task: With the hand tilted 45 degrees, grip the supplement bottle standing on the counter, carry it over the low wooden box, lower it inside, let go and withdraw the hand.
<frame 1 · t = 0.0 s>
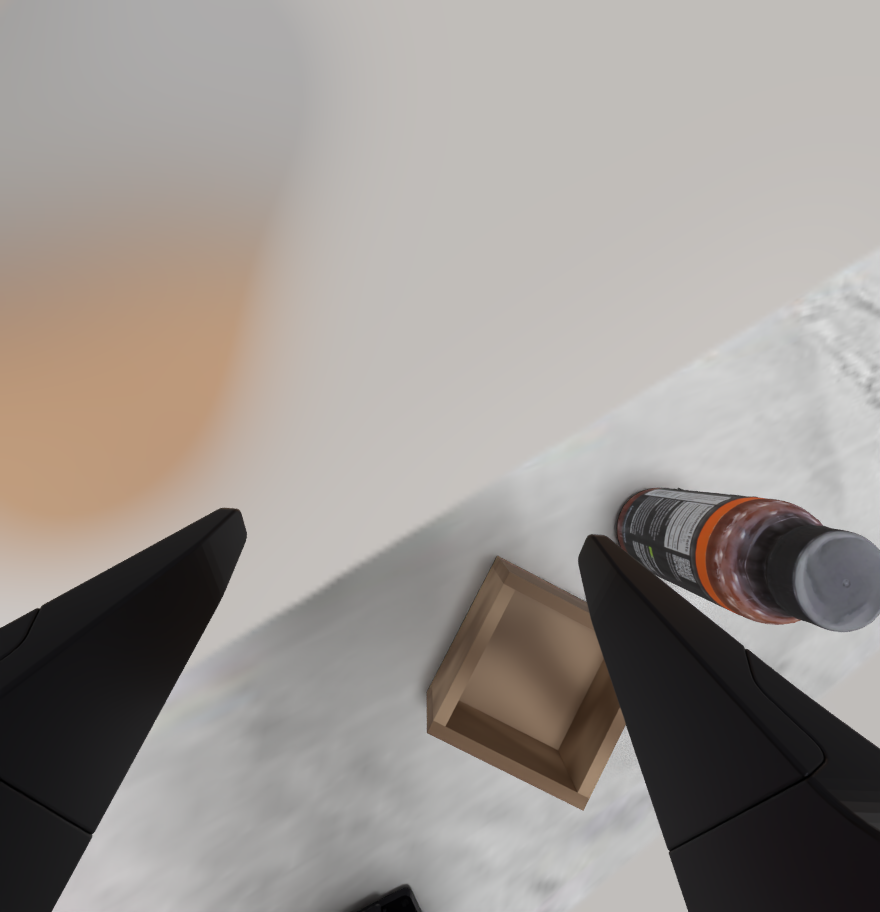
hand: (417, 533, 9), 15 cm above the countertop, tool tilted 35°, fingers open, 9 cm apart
wooden box: (528, 657, 24), on the countertop
supplement bottle: (651, 527, 25), on the countertop
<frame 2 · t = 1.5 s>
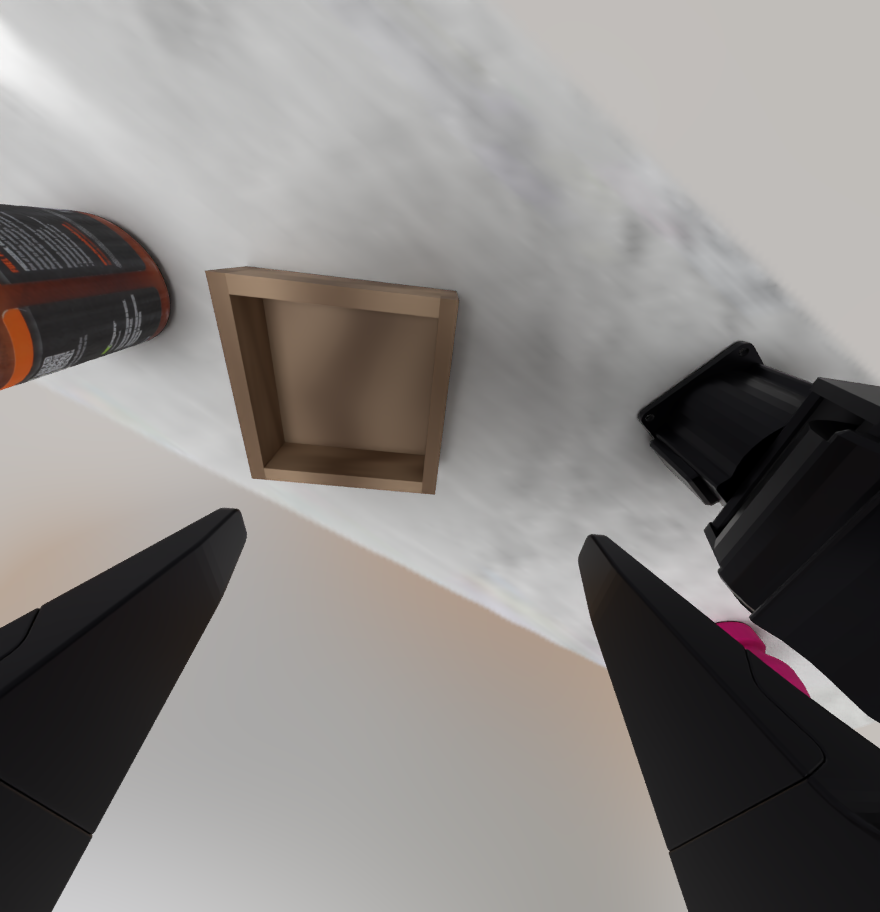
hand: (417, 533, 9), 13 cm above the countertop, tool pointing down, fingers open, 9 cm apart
wooden box: (355, 379, 20), on the countertop
pepper mill: (715, 637, 34), on the countertop
supplement bottle: (117, 281, 18), on the countertop
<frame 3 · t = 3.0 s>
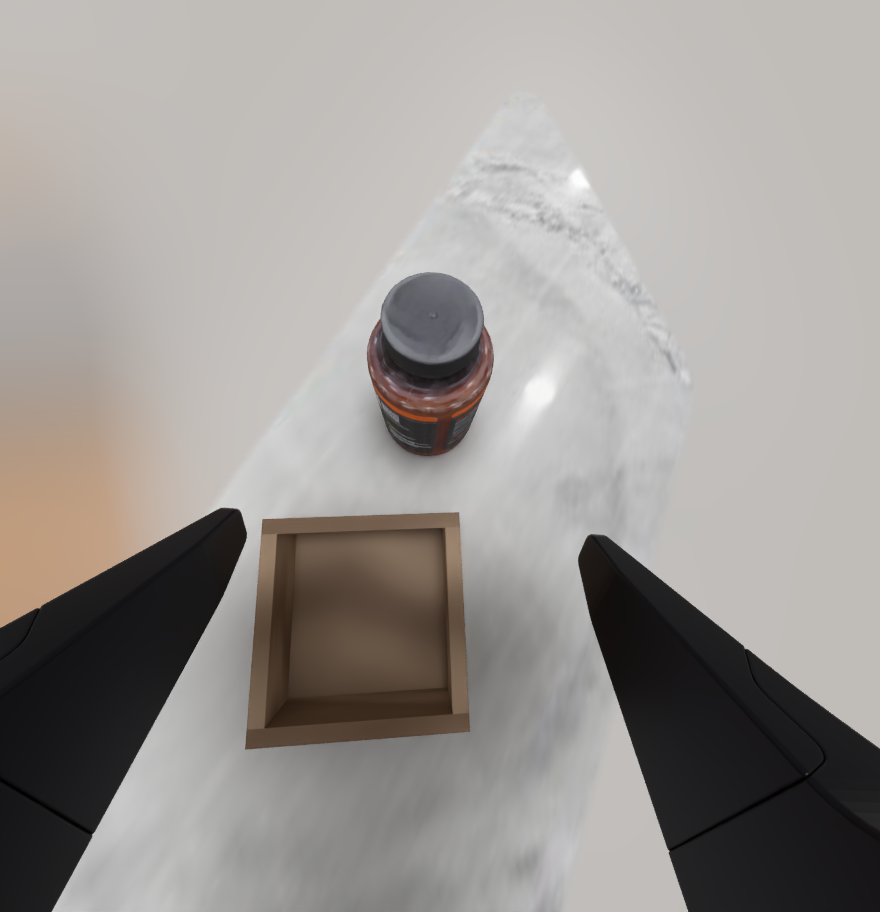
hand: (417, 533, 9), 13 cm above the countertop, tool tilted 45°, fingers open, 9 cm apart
wooden box: (370, 606, 21), on the countertop
supplement bottle: (427, 417, 24), on the countertop
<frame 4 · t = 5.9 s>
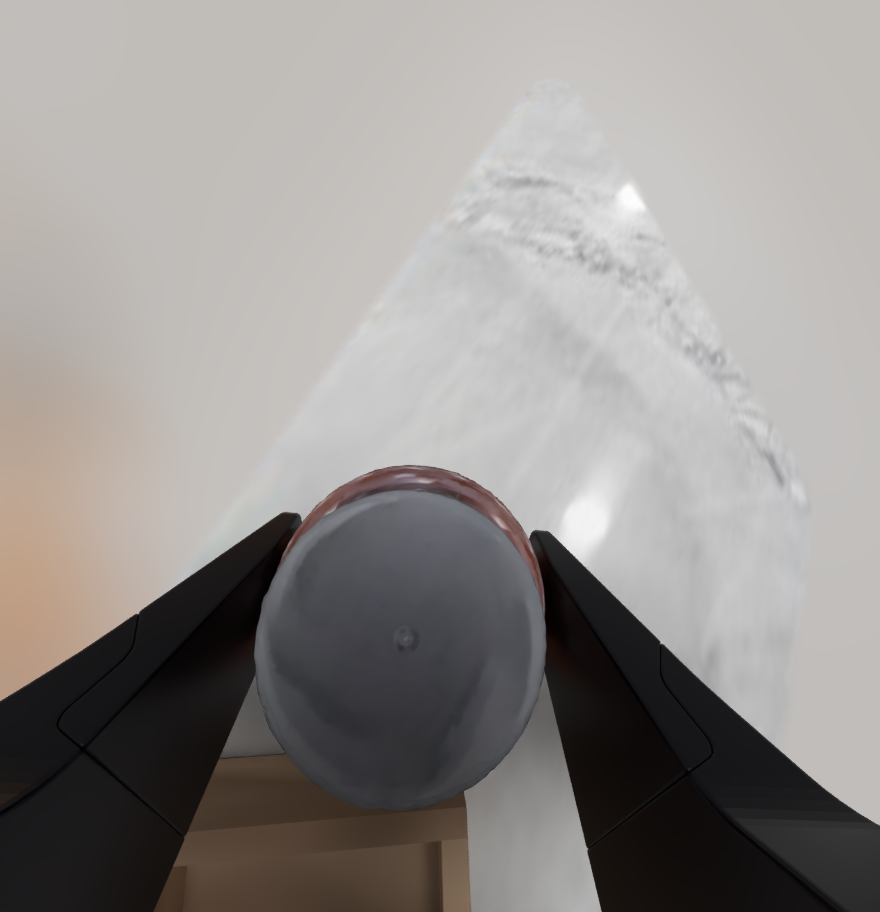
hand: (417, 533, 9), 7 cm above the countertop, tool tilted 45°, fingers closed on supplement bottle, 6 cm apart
supplement bottle: (415, 565, 16), on the countertop, touching gripper
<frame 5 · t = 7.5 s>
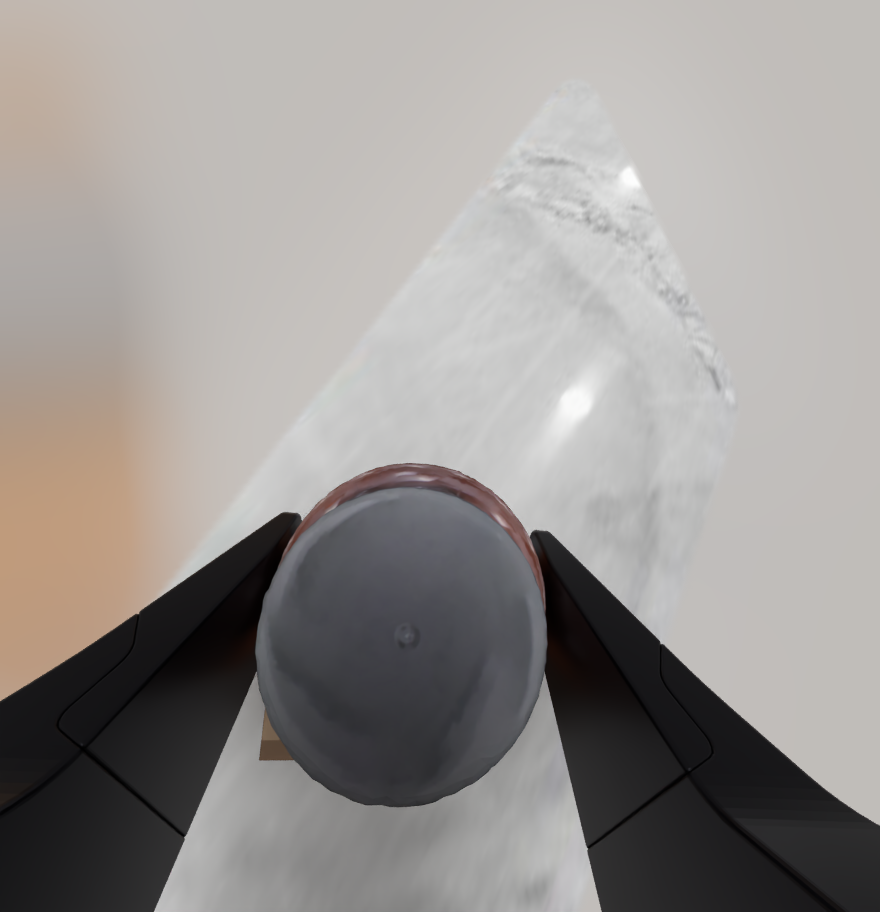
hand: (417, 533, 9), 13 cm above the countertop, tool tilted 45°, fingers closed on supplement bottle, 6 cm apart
wooden box: (389, 616, 20), on the countertop
supplement bottle: (416, 564, 16), point 5 cm above the countertop, touching gripper
when the fingers open (8 cm above the countertop, at t = 9.4 s): supplement bottle stays where it is, resting on wooden box.
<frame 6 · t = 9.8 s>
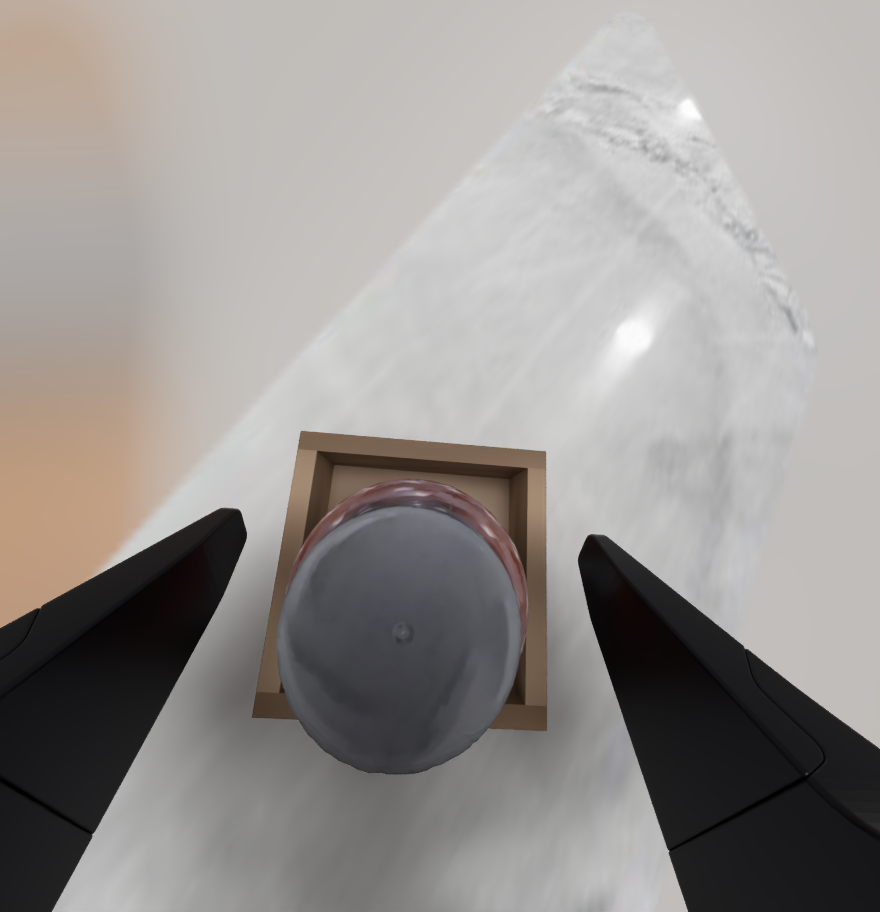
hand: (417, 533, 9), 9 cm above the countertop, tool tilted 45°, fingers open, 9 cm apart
wooden box: (415, 563, 17), on the countertop
supplement bottle: (415, 567, 17), resting on wooden box
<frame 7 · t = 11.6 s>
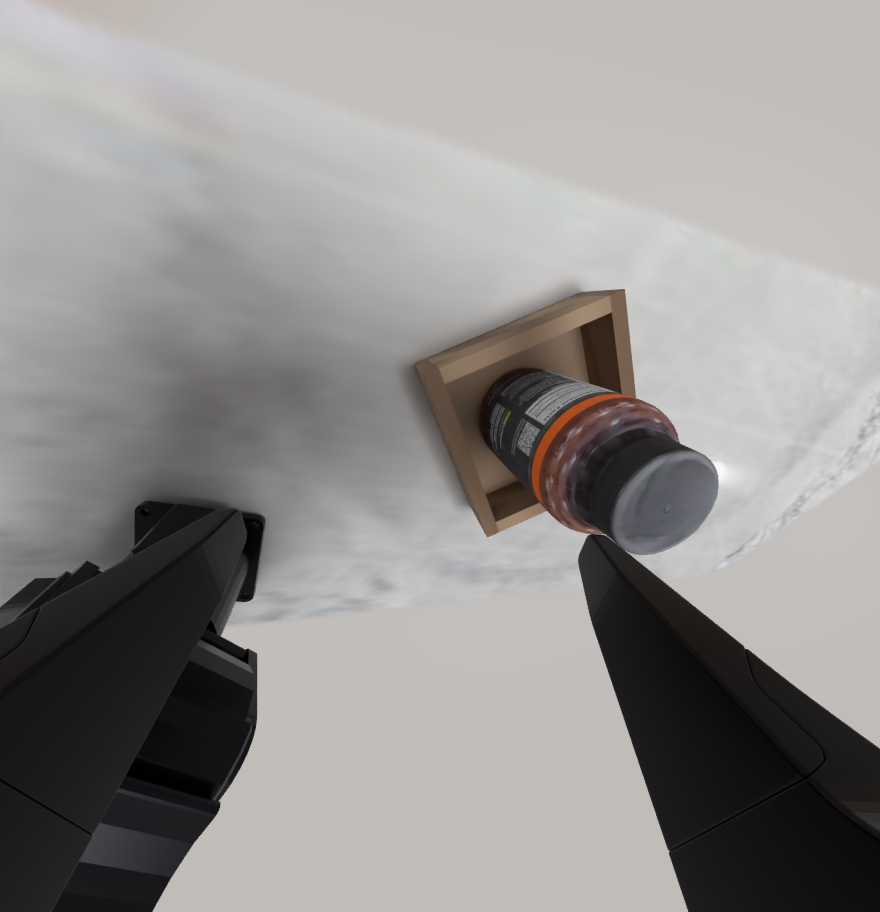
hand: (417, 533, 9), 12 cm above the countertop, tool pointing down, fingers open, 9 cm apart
wooden box: (521, 410, 22), on the countertop
supplement bottle: (520, 412, 21), resting on wooden box
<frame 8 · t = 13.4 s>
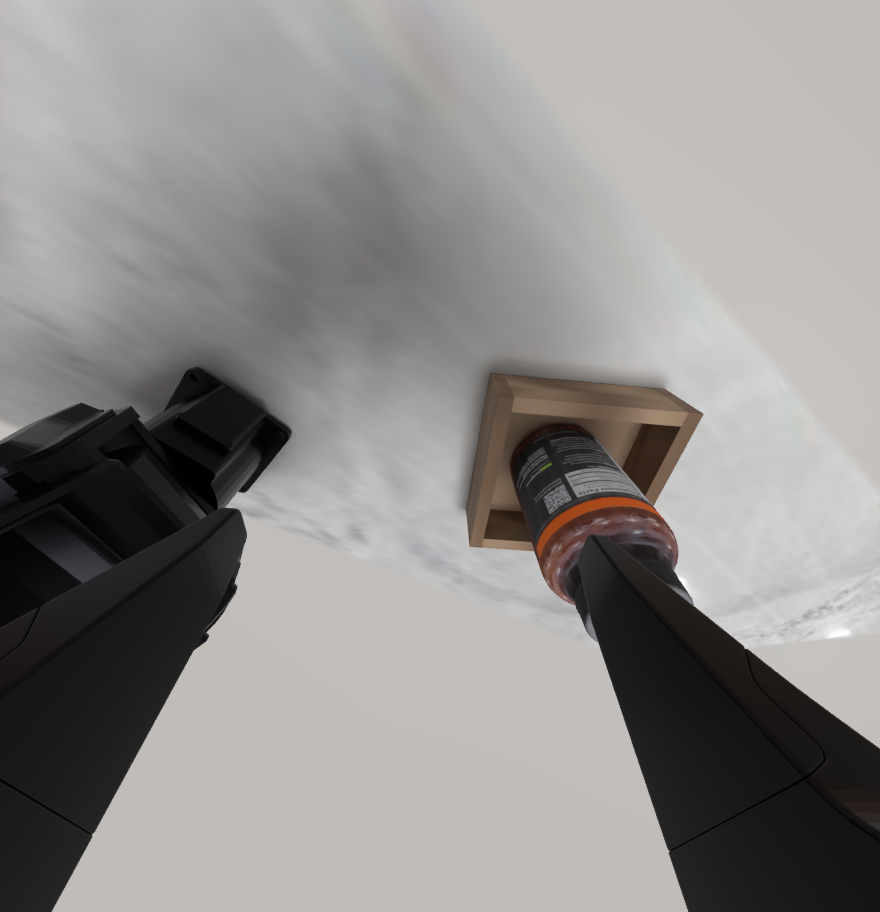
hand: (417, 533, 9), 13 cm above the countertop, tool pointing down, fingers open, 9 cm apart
wooden box: (554, 457, 23), on the countertop
supplement bottle: (553, 459, 23), resting on wooden box
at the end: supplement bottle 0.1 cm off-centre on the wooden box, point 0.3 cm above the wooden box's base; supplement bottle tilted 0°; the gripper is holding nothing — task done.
